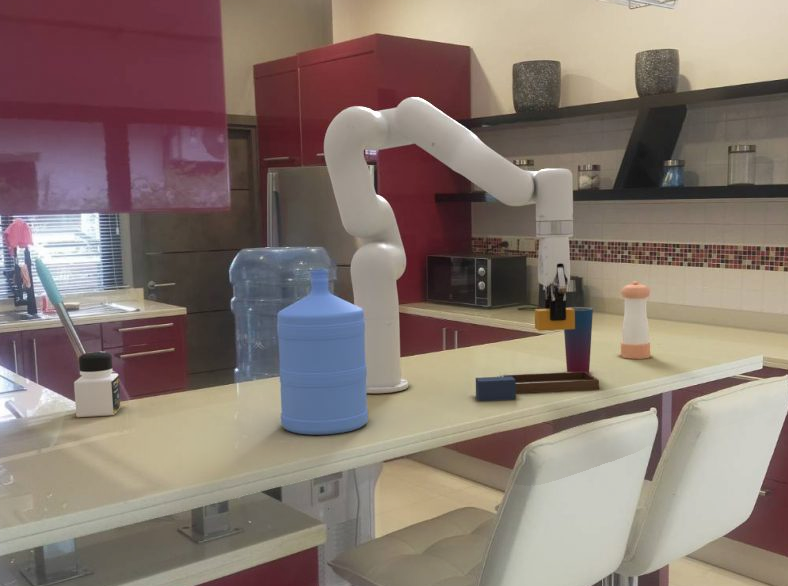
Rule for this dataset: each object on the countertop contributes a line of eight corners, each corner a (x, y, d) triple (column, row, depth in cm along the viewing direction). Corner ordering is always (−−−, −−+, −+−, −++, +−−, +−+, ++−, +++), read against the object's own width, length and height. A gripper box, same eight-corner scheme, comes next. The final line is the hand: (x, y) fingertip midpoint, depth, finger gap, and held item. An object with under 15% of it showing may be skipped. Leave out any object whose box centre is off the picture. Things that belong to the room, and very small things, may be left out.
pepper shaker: (655, 355, 219) (655, 280, 217) (641, 359, 214) (641, 282, 212) (629, 353, 224) (629, 279, 222) (615, 357, 219) (615, 281, 216)
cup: (591, 370, 201) (591, 306, 200) (594, 376, 195) (594, 310, 193) (562, 370, 202) (561, 307, 200) (564, 376, 195) (563, 310, 194)
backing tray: (508, 393, 179) (508, 384, 179) (500, 383, 189) (499, 374, 189) (599, 389, 181) (599, 380, 180) (585, 380, 191) (585, 371, 190)
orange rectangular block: (538, 330, 176) (538, 311, 176) (535, 328, 180) (534, 309, 180) (575, 329, 177) (574, 309, 176) (570, 326, 181) (570, 307, 180)
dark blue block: (478, 401, 172) (478, 381, 172) (475, 396, 176) (475, 377, 176) (515, 399, 173) (515, 379, 173) (512, 395, 177) (511, 376, 177)
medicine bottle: (114, 415, 168) (110, 354, 167) (76, 417, 167) (71, 356, 165) (121, 407, 175) (117, 349, 174) (84, 409, 174) (80, 351, 172)
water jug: (384, 427, 153) (379, 269, 150) (302, 441, 145) (296, 275, 142) (344, 411, 167) (339, 266, 163) (267, 423, 158) (260, 271, 155)
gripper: (528, 229, 184) (529, 315, 186) (544, 231, 168) (546, 324, 170) (563, 228, 185) (564, 313, 187) (582, 230, 168) (583, 323, 170)
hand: (555, 318), depth 178 cm, fingers closed on orange rectangular block, 3 cm apart
